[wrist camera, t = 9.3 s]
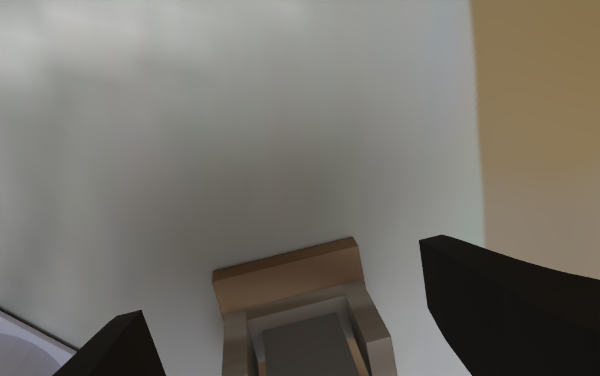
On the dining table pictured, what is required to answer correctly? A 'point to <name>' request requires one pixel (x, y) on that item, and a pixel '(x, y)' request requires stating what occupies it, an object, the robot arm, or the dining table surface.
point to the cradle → (300, 306)
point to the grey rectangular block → (309, 349)
